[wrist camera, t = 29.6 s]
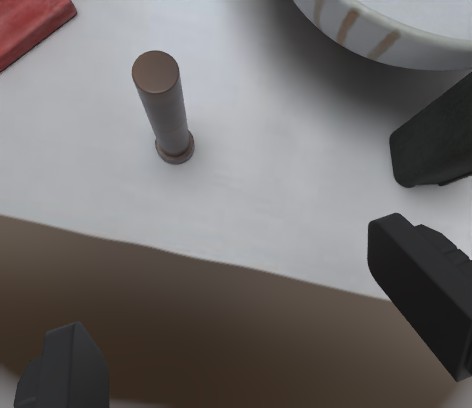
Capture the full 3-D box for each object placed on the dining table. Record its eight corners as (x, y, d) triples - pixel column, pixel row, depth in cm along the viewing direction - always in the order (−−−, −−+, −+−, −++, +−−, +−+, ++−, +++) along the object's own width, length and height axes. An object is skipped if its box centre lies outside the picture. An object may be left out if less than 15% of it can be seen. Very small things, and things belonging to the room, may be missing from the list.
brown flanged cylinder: (160, 167, 31) (131, 104, 20) (153, 132, 32) (120, 49, 20) (197, 160, 32) (190, 93, 20) (190, 125, 32) (178, 40, 20)
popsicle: (117, -39, 32) (-29, 80, 30) (122, -23, 34) (-16, 90, 32) (80, -74, 33) (-68, 40, 30) (86, -57, 34) (-53, 53, 32)
